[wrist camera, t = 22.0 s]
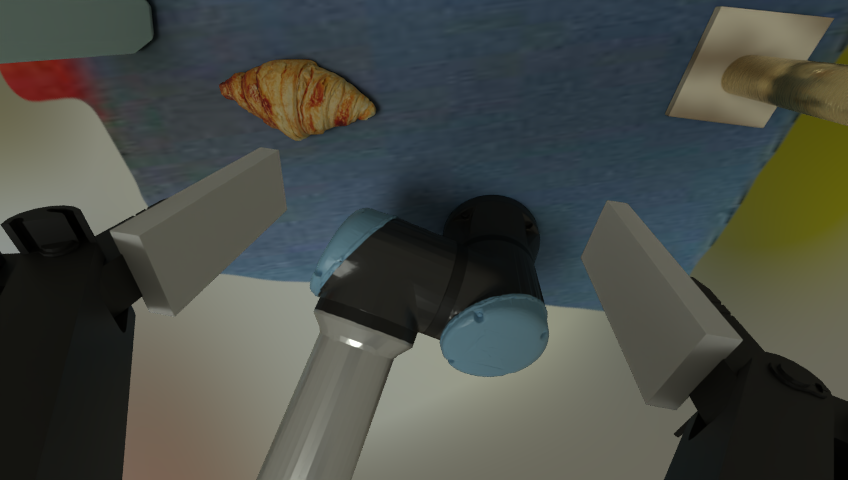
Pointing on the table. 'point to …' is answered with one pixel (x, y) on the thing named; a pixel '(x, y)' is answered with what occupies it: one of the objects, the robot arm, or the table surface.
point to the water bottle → (72, 28)
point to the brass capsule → (791, 85)
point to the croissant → (297, 97)
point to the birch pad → (731, 40)
